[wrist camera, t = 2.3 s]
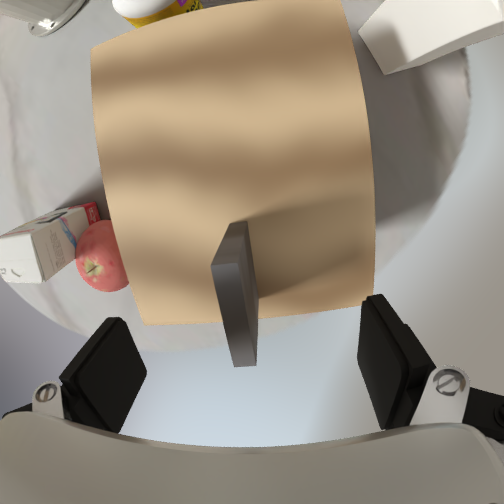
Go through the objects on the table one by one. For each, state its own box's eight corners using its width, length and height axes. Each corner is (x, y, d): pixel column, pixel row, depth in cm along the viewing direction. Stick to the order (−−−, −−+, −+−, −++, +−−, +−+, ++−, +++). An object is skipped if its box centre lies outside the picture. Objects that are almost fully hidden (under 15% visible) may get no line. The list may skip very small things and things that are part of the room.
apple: (131, 283, 32) (101, 318, 24) (90, 244, 30) (52, 269, 23) (163, 243, 30) (134, 273, 22) (118, 200, 28) (78, 217, 21)
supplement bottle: (207, 44, 22) (171, -17, 10) (149, 55, 22) (86, 12, 10) (207, -1, 20) (178, -67, 8) (152, 10, 20) (100, -41, 8)
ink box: (98, 200, 28) (31, 229, 17) (106, 241, 30) (46, 283, 19) (51, 210, 29) (-12, 238, 18) (59, 246, 30) (2, 283, 19)
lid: (96, 51, 12) (33, 25, 6) (337, 5, 11) (369, -52, 4) (148, 319, 19) (110, 382, 13) (368, 297, 18) (407, 362, 11)
